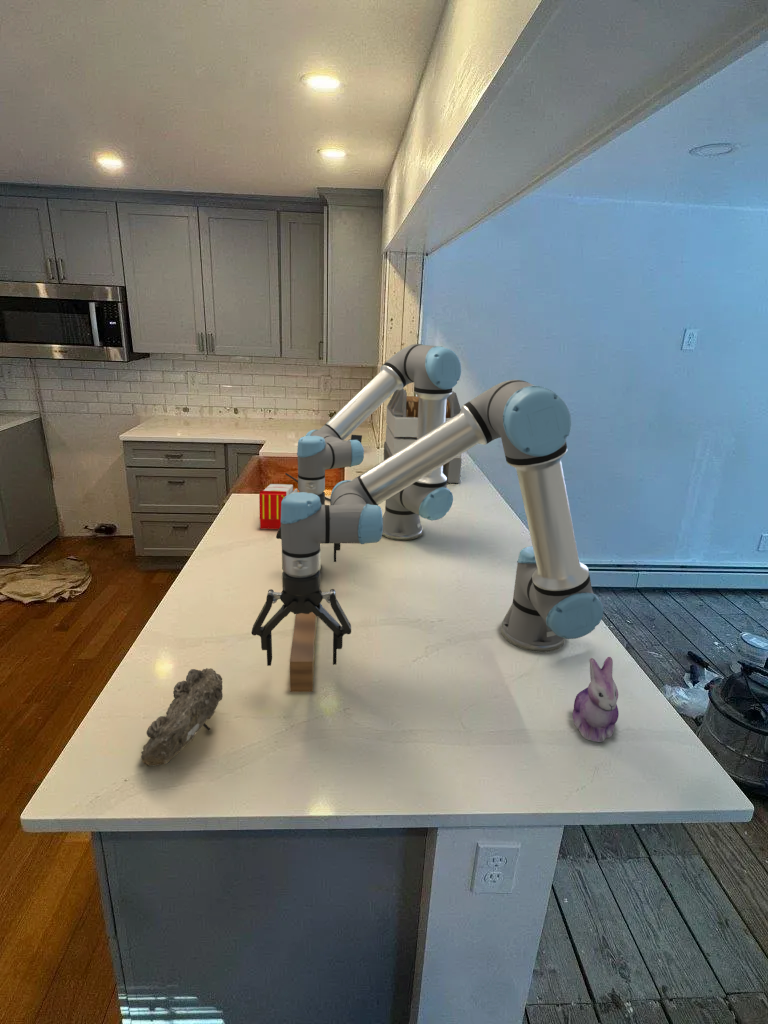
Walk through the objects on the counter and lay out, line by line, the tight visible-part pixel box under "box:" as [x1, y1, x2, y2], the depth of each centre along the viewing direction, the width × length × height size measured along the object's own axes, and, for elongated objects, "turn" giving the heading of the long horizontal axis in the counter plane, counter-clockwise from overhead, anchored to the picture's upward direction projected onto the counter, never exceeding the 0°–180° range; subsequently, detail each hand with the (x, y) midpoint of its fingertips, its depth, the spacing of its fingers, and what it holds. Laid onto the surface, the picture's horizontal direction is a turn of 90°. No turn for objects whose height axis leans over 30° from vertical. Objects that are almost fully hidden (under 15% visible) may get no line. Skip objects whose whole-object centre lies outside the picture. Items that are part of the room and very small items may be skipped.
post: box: [289, 612, 318, 693], centre depth 143 cm, size 60×5×7 cm, turn 5°
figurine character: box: [350, 434, 363, 444], centre depth 311 cm, size 7×8×15 cm
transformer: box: [383, 388, 463, 484], centre depth 268 cm, size 34×33×41 cm
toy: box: [258, 483, 298, 530], centre depth 210 cm, size 12×13×30 cm
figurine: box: [571, 656, 620, 743], centre depth 107 cm, size 9×10×15 cm
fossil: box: [140, 667, 224, 767], centre depth 103 cm, size 22×10×15 cm
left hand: (311, 560), depth 167 cm, fingers open, 13 cm apart
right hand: (302, 661), depth 119 cm, fingers open, 13 cm apart
